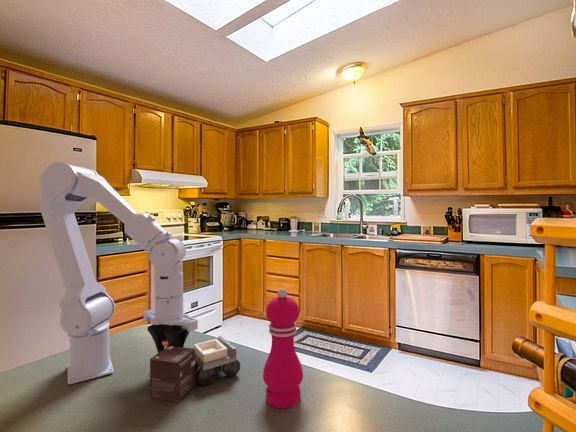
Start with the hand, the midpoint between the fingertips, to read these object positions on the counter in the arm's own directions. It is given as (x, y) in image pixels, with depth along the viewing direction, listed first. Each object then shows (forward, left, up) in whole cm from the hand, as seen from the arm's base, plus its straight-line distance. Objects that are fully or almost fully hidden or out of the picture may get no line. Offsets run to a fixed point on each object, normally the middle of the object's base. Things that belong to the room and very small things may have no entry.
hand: (170, 358), depth 68 cm
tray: (+6, +6, +2) cm, 9 cm away
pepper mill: (+22, +14, -3) cm, 27 cm away
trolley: (+6, +7, -3) cm, 10 cm away
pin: (0, 0, -3) cm, 3 cm away
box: (+9, -2, -3) cm, 9 cm away
